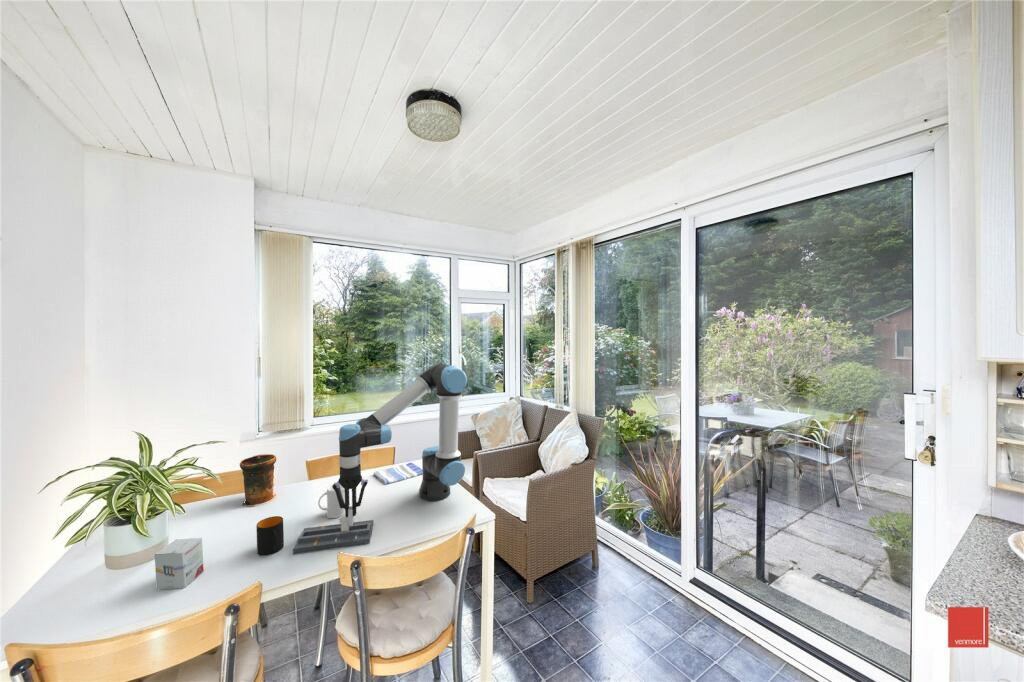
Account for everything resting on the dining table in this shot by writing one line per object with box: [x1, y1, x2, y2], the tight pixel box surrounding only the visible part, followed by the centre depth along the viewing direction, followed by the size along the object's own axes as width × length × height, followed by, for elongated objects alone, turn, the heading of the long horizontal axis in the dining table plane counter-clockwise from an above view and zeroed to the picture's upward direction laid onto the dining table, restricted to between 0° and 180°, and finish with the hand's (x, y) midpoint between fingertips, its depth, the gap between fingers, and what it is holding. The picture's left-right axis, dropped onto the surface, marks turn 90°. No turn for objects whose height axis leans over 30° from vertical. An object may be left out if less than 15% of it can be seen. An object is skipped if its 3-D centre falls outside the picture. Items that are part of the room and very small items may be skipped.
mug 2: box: [317, 484, 345, 519], centre depth 161 cm, size 12×8×12 cm
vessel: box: [239, 453, 277, 508], centre depth 174 cm, size 14×14×20 cm
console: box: [292, 519, 375, 555], centre depth 143 cm, size 26×14×3 cm, turn 104°
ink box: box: [154, 537, 204, 591], centre depth 119 cm, size 9×9×12 cm
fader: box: [339, 514, 349, 532], centre depth 144 cm, size 3×4×6 cm
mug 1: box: [256, 515, 285, 557], centre depth 135 cm, size 8×12×10 cm
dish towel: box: [373, 462, 423, 485], centre depth 204 cm, size 17×24×3 cm
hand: (351, 523), depth 144 cm, fingers closed
